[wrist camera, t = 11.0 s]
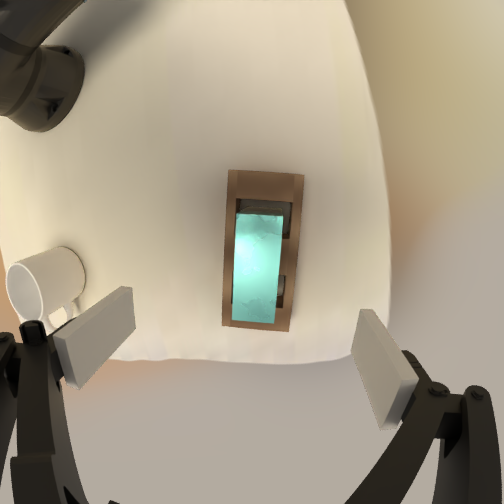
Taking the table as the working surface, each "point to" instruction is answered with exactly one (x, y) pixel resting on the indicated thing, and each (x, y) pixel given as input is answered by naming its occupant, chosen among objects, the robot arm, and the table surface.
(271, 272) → the tall teal block
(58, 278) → the mug
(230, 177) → the brown wooden frame
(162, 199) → the table surface
